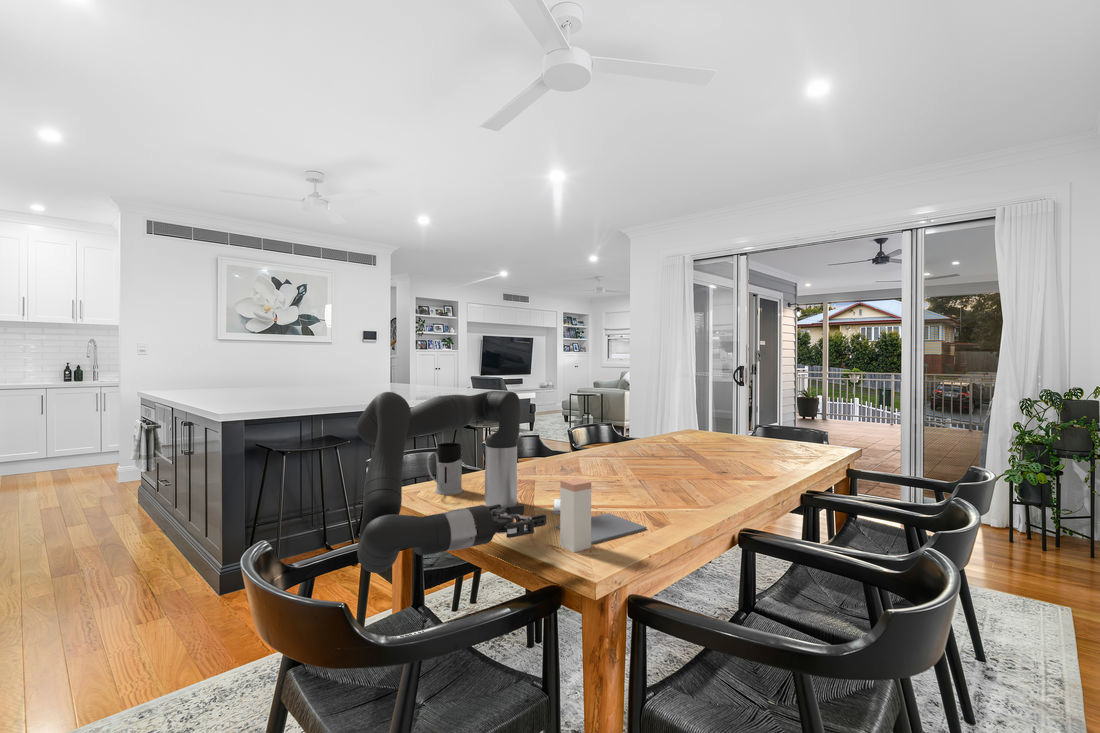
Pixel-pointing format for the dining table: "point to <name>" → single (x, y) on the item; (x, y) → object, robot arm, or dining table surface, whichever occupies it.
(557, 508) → the hard drive
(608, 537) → the rubber mat
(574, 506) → the capped block
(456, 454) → the grey coffee pot
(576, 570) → the dining table surface
